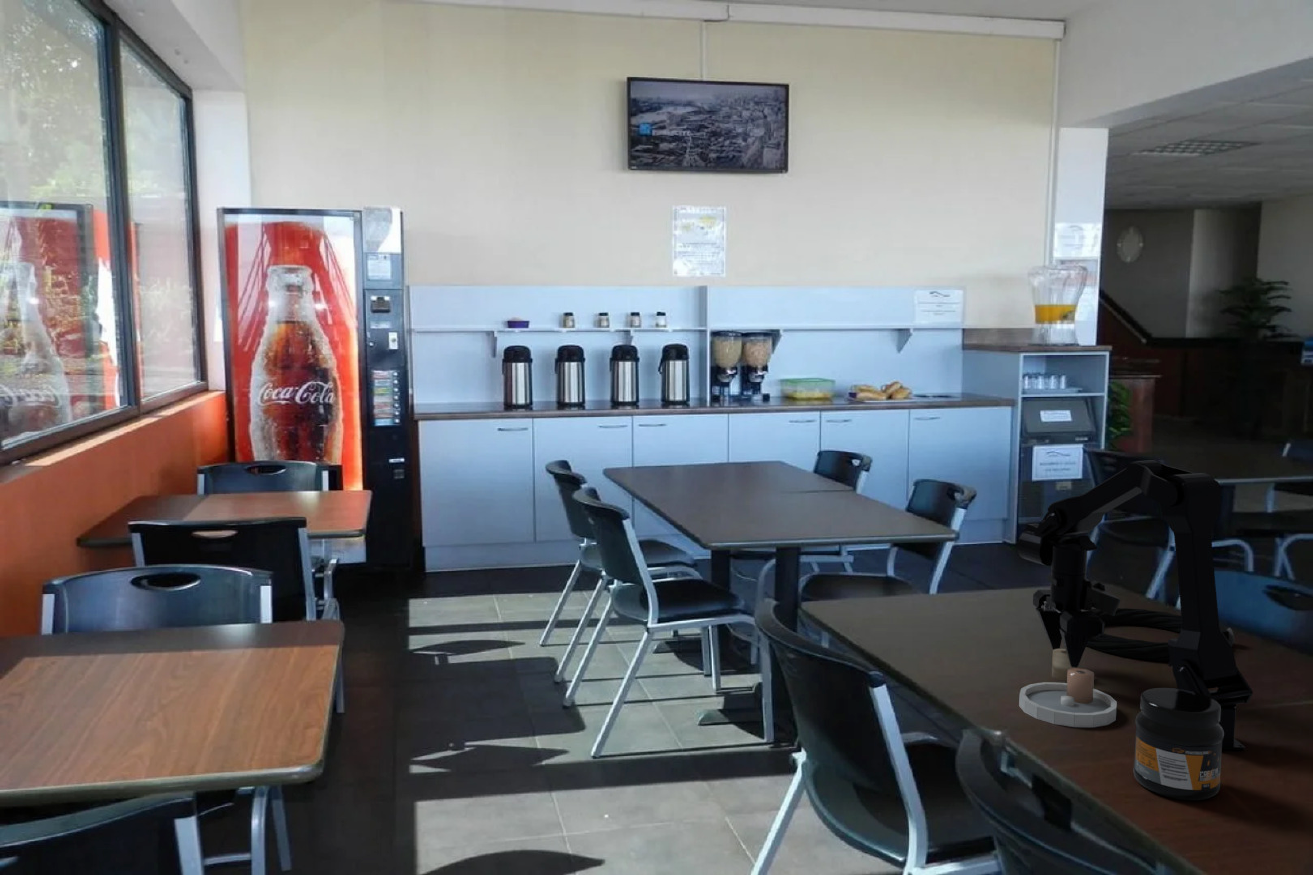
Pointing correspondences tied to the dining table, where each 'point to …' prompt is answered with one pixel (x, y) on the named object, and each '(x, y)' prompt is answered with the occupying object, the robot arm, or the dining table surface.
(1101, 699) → the ring tray
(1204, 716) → the supplement container
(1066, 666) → the maple bead
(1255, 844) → the dining table surface
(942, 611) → the dining table surface
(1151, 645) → the cable lock
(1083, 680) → the terracotta bead
